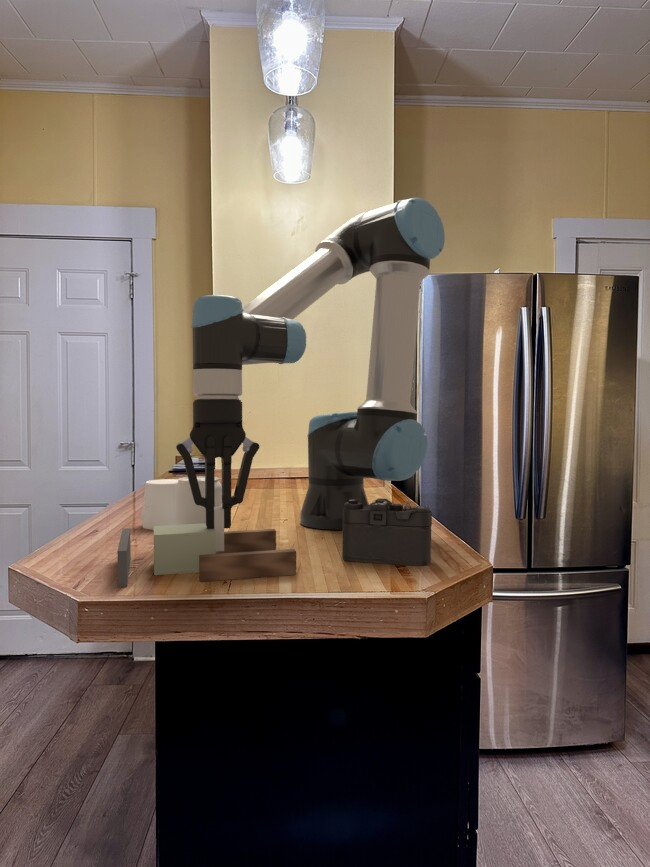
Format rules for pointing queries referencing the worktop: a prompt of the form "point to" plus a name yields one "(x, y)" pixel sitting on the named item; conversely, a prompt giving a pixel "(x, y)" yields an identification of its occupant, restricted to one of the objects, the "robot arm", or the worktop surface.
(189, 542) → the block
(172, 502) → the mug
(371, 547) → the camera
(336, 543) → the worktop surface
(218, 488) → the beverage can
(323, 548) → the worktop surface
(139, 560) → the worktop surface
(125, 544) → the bar
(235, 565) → the pair of brown rails
